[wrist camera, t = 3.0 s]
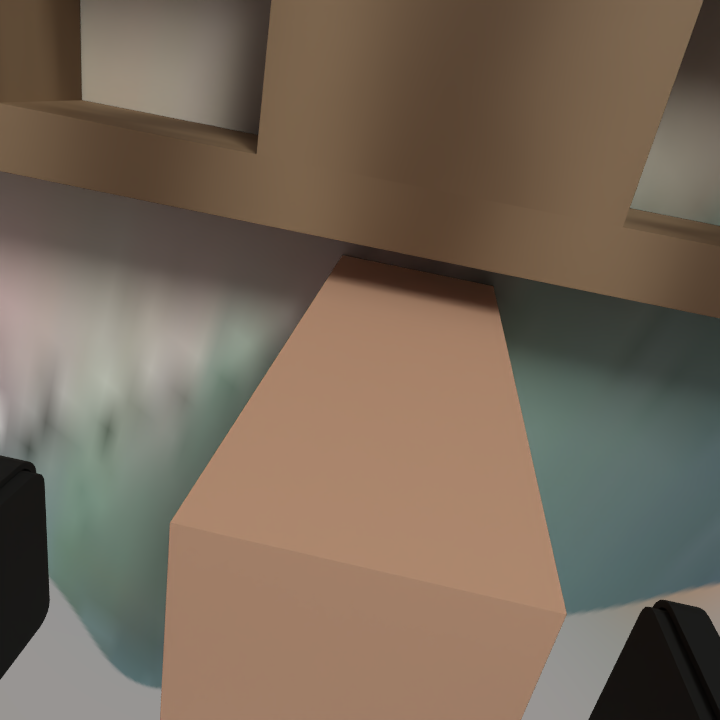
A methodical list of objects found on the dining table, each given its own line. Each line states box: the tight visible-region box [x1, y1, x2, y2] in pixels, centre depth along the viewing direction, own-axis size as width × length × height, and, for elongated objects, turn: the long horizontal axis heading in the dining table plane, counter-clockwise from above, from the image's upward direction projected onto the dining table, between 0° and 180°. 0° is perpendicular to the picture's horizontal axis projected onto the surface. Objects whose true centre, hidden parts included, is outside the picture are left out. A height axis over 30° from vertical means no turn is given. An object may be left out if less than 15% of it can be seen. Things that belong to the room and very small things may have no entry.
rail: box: [0, 0, 720, 318], centre depth 13 cm, size 30×9×4 cm, turn 80°
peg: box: [160, 255, 567, 720], centre depth 13 cm, size 4×4×12 cm
